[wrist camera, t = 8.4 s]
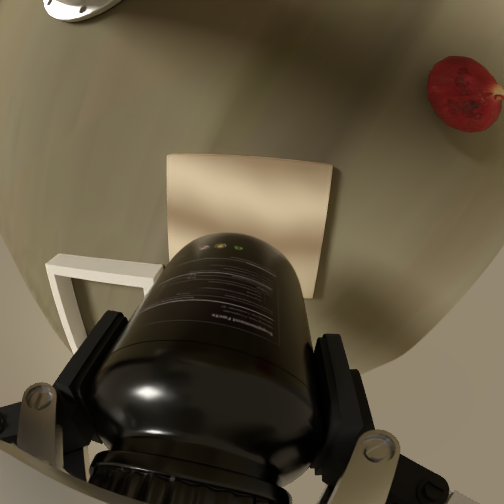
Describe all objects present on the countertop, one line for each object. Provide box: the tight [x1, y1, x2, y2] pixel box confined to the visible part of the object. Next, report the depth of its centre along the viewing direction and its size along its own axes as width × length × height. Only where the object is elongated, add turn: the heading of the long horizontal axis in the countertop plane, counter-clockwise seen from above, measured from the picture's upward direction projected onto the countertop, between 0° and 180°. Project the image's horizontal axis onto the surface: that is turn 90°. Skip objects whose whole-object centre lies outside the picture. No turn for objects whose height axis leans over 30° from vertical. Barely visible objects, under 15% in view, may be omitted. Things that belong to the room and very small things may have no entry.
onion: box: [427, 56, 504, 133], centre depth 14 cm, size 6×6×8 cm
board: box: [167, 154, 333, 298], centre depth 22 cm, size 11×12×1 cm
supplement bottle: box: [88, 232, 324, 504], centre depth 9 cm, size 7×7×12 cm
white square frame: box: [45, 254, 163, 354], centre depth 26 cm, size 12×12×2 cm
